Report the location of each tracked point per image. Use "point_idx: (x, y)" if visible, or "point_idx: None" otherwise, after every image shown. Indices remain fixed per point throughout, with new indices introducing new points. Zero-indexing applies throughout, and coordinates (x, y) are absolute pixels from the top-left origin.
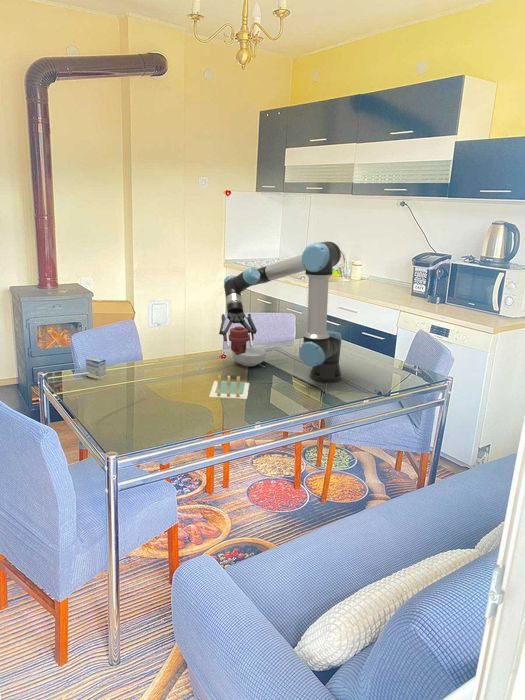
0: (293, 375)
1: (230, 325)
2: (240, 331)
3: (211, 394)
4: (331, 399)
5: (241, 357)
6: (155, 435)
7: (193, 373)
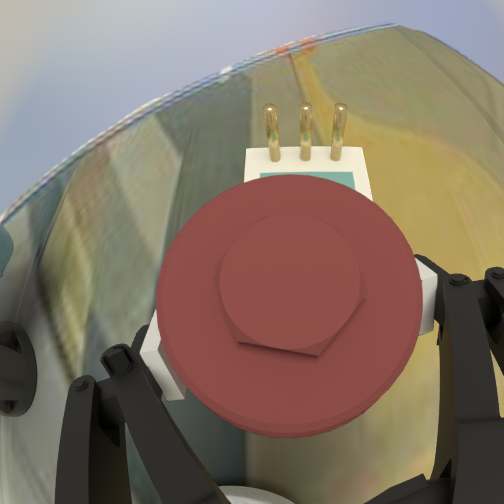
0: None
1: (443, 424)
2: (263, 189)
3: (359, 161)
4: (42, 212)
5: (277, 500)
6: (388, 44)
7: None
